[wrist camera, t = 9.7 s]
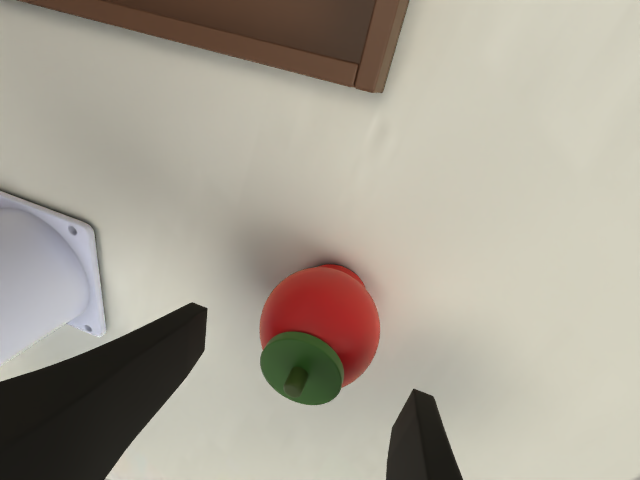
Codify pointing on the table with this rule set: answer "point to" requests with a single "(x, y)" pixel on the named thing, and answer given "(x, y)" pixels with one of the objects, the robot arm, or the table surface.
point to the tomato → (317, 333)
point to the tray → (269, 31)
